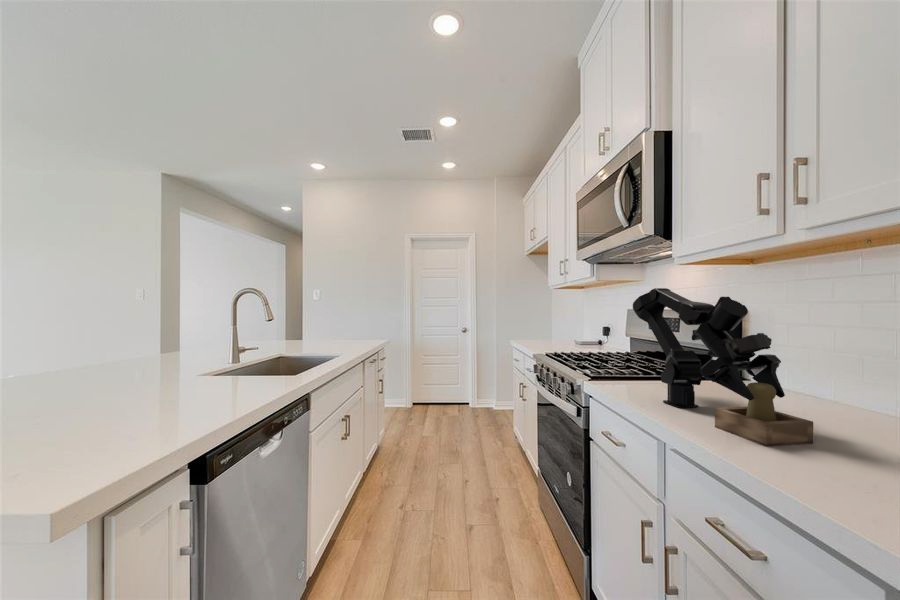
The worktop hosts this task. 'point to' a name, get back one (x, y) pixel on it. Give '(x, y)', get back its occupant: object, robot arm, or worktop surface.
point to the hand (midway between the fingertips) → (767, 398)
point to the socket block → (764, 427)
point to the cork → (761, 402)
